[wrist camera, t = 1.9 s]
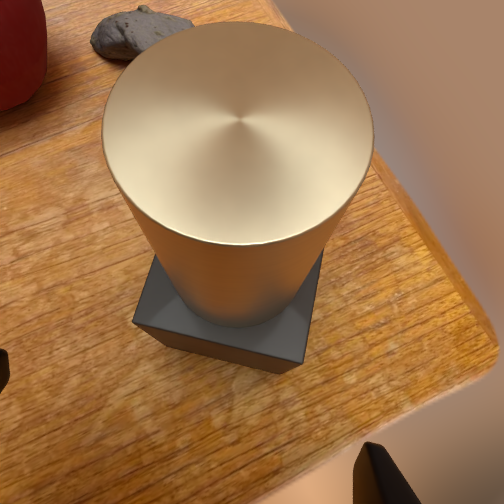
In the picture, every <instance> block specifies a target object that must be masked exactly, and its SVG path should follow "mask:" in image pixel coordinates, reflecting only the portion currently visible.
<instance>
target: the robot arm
mask: <svg viewBox="0 0 504 504" xmlns="http://www.w3.org/2000/svg"><path fill="white" fill-rule="evenodd" d="M9 377H10V369H9V359H8V353H7V351H6V350H4V349H0V393H1V392H2V390H3V389H4V388H5V386H6V385H7V383H8V381H9ZM353 504H421V502H420V501H419V499H418V498H417V496H416V495H415V493H414V492H413V490H412V489H411V487H410V485H409V484H408V482H407V481H406V479H405V478H404V476H403V475H402V473H401V472H400V470H399V469H398V467H397V466H396V464H395V463H394V461H393V460H392V458H391V456H390V455H389V453H388V452H387V451H386V449H385V448H384V447H383V446H382V445H380V444H376V443H372V442H365V443H364V444H363V446H362V448H361V451H360V453H359V455H358V457H357V459H356V462H355V464H354V469H353Z"/></svg>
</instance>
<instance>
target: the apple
mask: <svg viewBox="0 0 504 504" xmlns="http://www.w3.org/2000/svg"><path fill="white" fill-rule="evenodd" d="M46 71H47V29H46V18H45V13H44V9H43V5H42V2H41V0H0V111H3V110H8V109H10V108H12V107H15V106H17V105H19V104H21V103H24V102H26V101H28V99H29V98H30V97H31V96H32V95H33V94H34V93H35V92H36V91H37V90H38V89H39V88H40V86H41V84H42V82H43V79H44V76H45V74H46Z"/></svg>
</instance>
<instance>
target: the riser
mask: <svg viewBox="0 0 504 504" xmlns="http://www.w3.org/2000/svg"><path fill="white" fill-rule="evenodd" d="M323 251H324V248H323V250H322V251H321V253H320V255H319V256H318V258H317V260H316V261H315V263H314V265H313V266H312V268H311V270H310V271H309V273H308V275H307V276H306V278H305V280H304V281H303V283H302V285H301V286H300V288H299V290H298V291H297V293H296V295H295V296H294V298H293V300H292V301H291V302H290V303H289V305H288V306H287V307H286V308H285V309H284V310H283V311H282V312H281V313H279V314H278V315H276V316H275V317H274V318H272V319H270V320H268V321H266V322H264V323H261V324H258V325H255V326H250V327H243V328H231V327H224V326H220V325H216V324H213V323H211V322H209V321H206V320H204V319H203V318H201V317H199V316H198V315H196V314H195V313H194V312H193V311H192V310H191V309H189V308H188V306H187V305H186V304H185V303H184V302H183V300H182V299H181V297H180V296H179V294H178V292H177V291H176V289H175V287H174V285H173V284H172V282H171V280H170V278H169V277H168V275H167V273H166V271H165V270H164V268H163V266H162V264H161V263H160V261H159V259H158V257H157V256H156V254H155V256H154V259H153V262H152V265H151V268H150V271H149V273H148V276H147V279H146V282H145V285H144V288H143V291H142V294H141V296H140V299H139V302H138V305H137V308H136V311H135V314H134V317H133V320H132V323H133V324H135V325H136V326H138V327H139V328H141V329H142V330H144V331H145V332H146V333H148V334H149V335H151V336H152V337H154V338H155V339H157V340H158V341H159V342H161V343H162V344H164V345H165V346H167V347H171V348H175V349H179V350H183V351H187V352H191V353H195V354H199V355H203V356H207V357H211V358H215V359H219V360H223V361H227V362H231V363H235V364H240V365H244V366H248V367H252V368H256V369H260V370H264V371H268V372H272V373H276V374H282V373H284V372H287V371H289V370H291V369H293V368H295V367H298V366H300V365H302V364H303V362H304V357H305V351H306V345H307V340H308V334H309V329H310V323H311V318H312V312H313V307H314V301H315V295H316V290H317V284H318V279H319V273H320V268H321V262H322V257H323Z"/></svg>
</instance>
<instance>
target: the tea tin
mask: <svg viewBox="0 0 504 504" xmlns="http://www.w3.org/2000/svg"><path fill="white" fill-rule="evenodd" d="M101 139H102V147H103V153H104V157H105V160H106V164H107V167H108V169H109V171H110V173H111V176H112V178H113V180H114V182H115V184H116V185H117V187H118V189H119V191H120V192H121V194H122V196H123V198H124V199H125V201H126V203H127V205H128V206H129V208H130V210H131V212H132V214H133V215H134V217H135V219H136V221H137V222H138V224H139V226H140V228H141V229H142V231H143V233H144V235H145V236H146V238H147V240H148V242H149V243H150V245H151V247H152V249H153V250H154V252H155V254H156V256H157V257H158V259H159V261H160V263H161V264H162V266H163V268H164V270H165V271H166V273H167V275H168V277H169V278H170V280H171V282H172V284H173V285H174V287H175V289H176V291H177V292H178V294H179V296H180V297H181V299H182V300H183V302H184V303H185V304H186V305H187V306H188V308H189V309H191V310H192V311H193V312H194V313H195V314H196V315H198V316H199V317H201V318H203V319H204V320H206V321H209V322H211V323H213V324H216V325H220V326H224V327H231V328H243V327H250V326H255V325H258V324H261V323H264V322H266V321H268V320H270V319H272V318H274V317H275V316H276V315H278V314H279V313H281V312H282V311H283V310H284V309H285V308H286V307H287V306H288V305H289V303H290V302H291V301H292V300H293V298H294V296H295V295H296V293H297V291H298V290H299V288H300V286H301V285H302V283H303V281H304V280H305V278H306V276H307V275H308V273H309V271H310V270H311V268H312V266H313V265H314V263H315V261H316V260H317V258H318V256H319V255H320V253H321V251H322V250H323V248H324V246H325V245H326V243H327V241H328V240H329V238H330V236H331V235H332V233H333V231H334V230H335V228H336V226H337V225H338V223H339V221H340V220H341V218H342V216H343V215H344V213H345V211H346V210H347V208H348V206H349V205H350V203H351V201H352V200H353V198H354V196H355V195H356V193H357V191H358V190H359V188H360V186H361V185H362V183H363V181H364V180H365V177H366V175H367V172H368V170H369V167H370V164H371V160H372V155H373V151H374V126H373V119H372V115H371V111H370V107H369V104H368V102H367V99H366V97H365V95H364V92H363V91H362V89H361V87H360V86H359V84H358V82H357V80H356V79H355V78H354V77H353V75H352V74H351V73H350V71H349V70H348V69H347V68H346V67H345V66H344V65H343V64H342V63H341V62H340V61H339V60H338V59H337V58H336V57H335V56H333V55H332V54H331V53H329V52H328V51H327V50H326V49H324V48H323V47H321V46H320V45H318V44H316V43H315V42H313V41H311V40H309V39H307V38H305V37H303V36H301V35H299V34H297V33H294V32H291V31H288V30H286V29H282V28H279V27H275V26H271V25H266V24H260V23H253V22H218V23H211V24H204V25H200V26H196V27H192V28H188V29H185V30H183V31H180V32H177V33H174V34H172V35H170V36H168V37H166V38H164V39H162V40H160V41H158V42H157V43H155V44H153V45H152V46H150V47H149V48H147V49H146V50H145V51H143V52H142V53H141V54H140V55H138V56H137V57H136V58H135V59H134V60H133V61H132V62H131V63H130V64H129V65H128V66H127V67H126V68H125V70H124V71H123V72H122V74H121V75H120V76H119V78H118V79H117V81H116V83H115V84H114V86H113V88H112V90H111V92H110V94H109V97H108V99H107V102H106V105H105V109H104V114H103V118H102V131H101Z"/></svg>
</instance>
